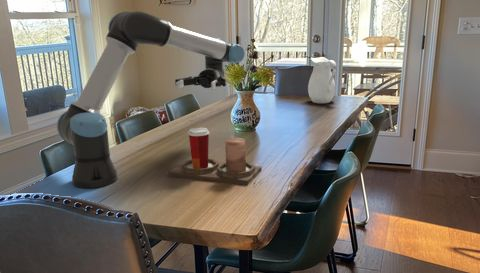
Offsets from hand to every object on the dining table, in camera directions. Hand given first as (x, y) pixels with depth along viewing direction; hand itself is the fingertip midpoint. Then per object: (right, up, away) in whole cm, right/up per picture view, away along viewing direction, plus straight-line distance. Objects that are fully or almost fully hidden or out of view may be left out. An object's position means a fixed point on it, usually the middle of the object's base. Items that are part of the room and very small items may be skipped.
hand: (194, 85), depth 166 cm
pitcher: (+70, +2, +116) cm, 135 cm away
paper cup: (+2, -30, -3) cm, 30 cm away
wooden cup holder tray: (+8, -32, -5) cm, 34 cm away
